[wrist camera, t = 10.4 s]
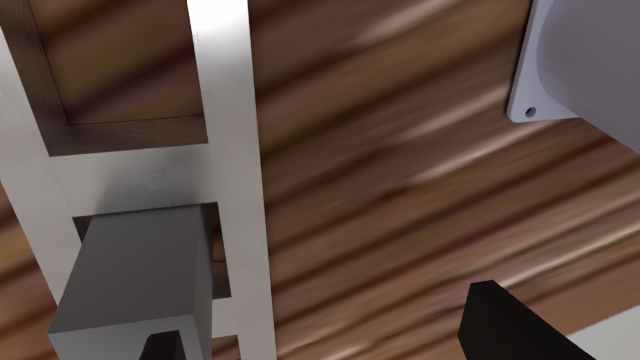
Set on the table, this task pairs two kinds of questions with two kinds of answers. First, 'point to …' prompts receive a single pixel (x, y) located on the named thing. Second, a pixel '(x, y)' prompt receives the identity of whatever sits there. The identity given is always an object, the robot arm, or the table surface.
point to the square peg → (138, 285)
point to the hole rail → (143, 163)
